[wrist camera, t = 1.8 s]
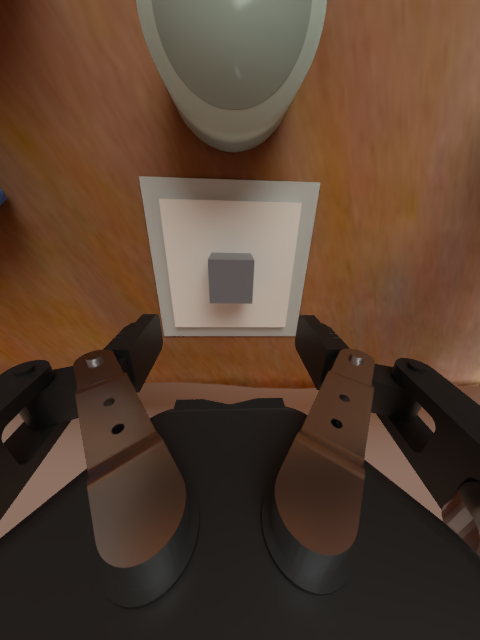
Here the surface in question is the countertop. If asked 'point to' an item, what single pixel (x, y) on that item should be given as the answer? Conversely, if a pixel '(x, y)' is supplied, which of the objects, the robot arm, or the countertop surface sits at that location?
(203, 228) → the lid
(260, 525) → the robot arm
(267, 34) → the bowl
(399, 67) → the countertop surface
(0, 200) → the grapes
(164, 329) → the mat
